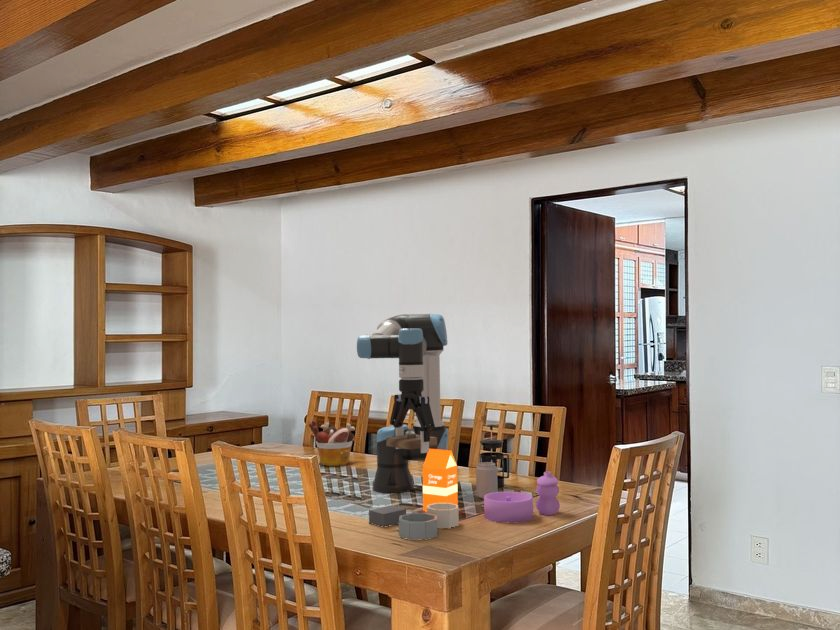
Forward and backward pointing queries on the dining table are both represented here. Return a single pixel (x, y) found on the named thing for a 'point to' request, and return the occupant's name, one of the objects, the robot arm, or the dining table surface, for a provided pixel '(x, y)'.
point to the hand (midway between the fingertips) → (412, 450)
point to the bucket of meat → (333, 443)
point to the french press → (495, 456)
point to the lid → (408, 441)
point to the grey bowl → (418, 526)
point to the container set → (522, 502)
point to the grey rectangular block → (386, 515)
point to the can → (486, 479)
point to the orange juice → (439, 478)
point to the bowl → (445, 514)
